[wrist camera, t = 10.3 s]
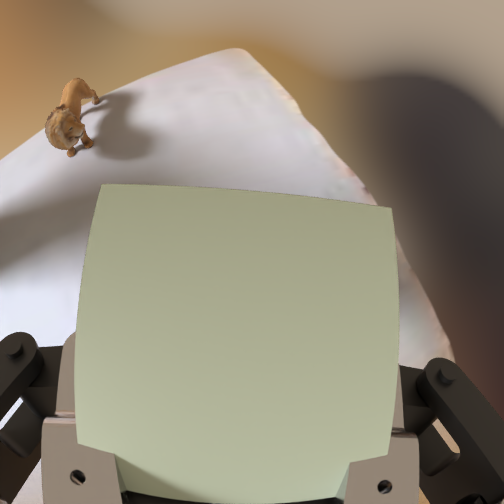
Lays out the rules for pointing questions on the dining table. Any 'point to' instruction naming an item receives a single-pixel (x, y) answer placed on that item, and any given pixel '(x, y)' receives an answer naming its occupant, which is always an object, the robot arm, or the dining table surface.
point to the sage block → (236, 341)
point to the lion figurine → (70, 118)
